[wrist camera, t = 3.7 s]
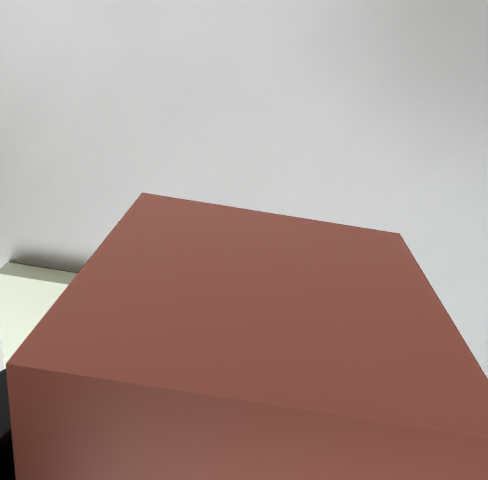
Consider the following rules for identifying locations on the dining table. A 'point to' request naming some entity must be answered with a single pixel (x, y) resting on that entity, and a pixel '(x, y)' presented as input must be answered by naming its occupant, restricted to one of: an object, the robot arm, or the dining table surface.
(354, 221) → the dining table surface
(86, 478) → the red brick
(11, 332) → the build board
